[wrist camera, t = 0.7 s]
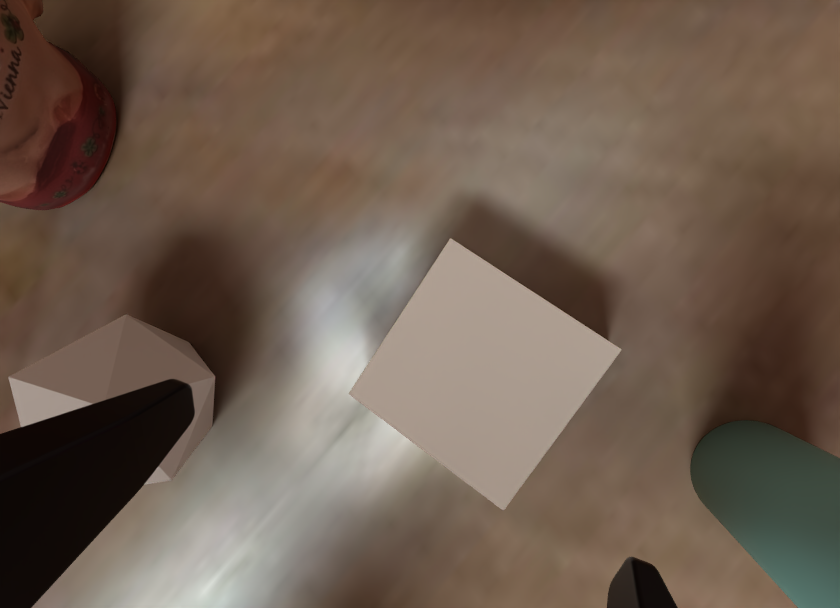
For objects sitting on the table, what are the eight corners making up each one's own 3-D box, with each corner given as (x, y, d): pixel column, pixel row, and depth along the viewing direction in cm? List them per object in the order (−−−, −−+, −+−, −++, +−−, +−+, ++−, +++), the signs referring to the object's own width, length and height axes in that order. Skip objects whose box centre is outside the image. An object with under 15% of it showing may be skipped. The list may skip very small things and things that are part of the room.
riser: (505, 485, 24) (503, 510, 21) (368, 382, 25) (348, 393, 22) (608, 343, 23) (621, 349, 20) (458, 245, 24) (450, 238, 21)
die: (113, 332, 30) (-50, 465, 22) (142, 254, 24) (-63, 397, 17) (224, 409, 32) (107, 555, 24) (275, 352, 26) (143, 521, 18)
